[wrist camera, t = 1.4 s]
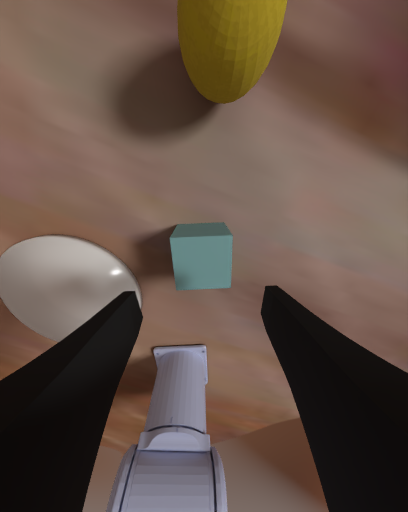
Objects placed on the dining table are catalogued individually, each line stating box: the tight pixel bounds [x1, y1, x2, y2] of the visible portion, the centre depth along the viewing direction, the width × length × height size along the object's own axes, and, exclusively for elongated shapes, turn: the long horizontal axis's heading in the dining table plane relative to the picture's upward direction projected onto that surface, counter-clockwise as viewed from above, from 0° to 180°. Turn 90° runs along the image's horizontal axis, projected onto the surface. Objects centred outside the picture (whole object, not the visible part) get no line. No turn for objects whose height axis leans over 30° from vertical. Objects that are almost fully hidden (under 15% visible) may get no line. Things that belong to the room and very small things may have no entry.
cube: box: [170, 222, 233, 290], centre depth 16 cm, size 5×5×5 cm
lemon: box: [177, 0, 287, 104], centre depth 9 cm, size 6×6×8 cm
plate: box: [0, 234, 142, 342], centre depth 20 cm, size 16×16×1 cm
